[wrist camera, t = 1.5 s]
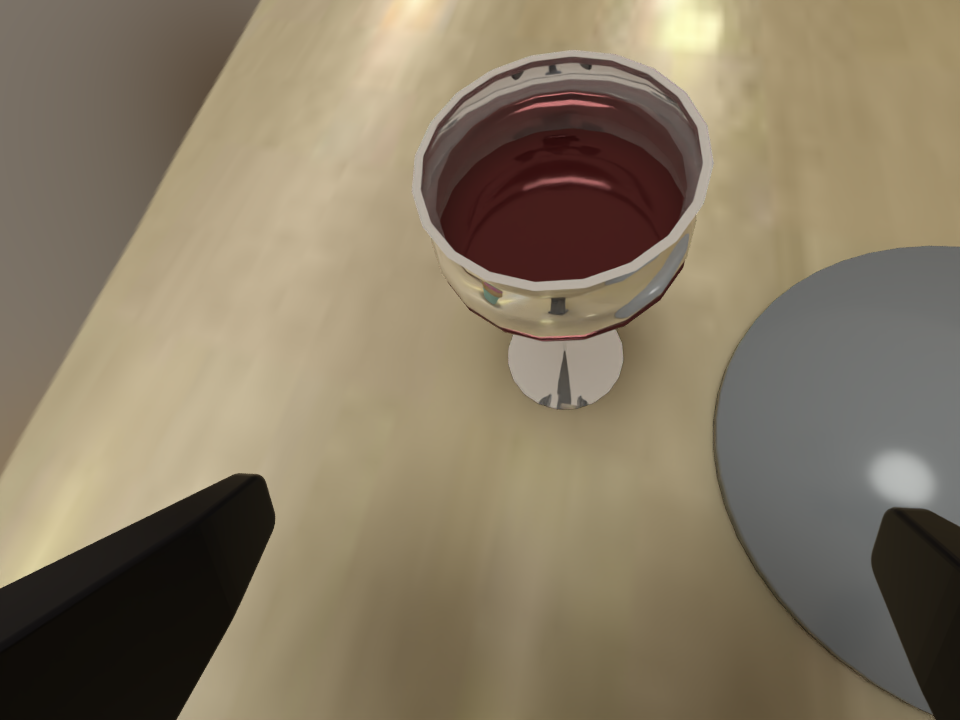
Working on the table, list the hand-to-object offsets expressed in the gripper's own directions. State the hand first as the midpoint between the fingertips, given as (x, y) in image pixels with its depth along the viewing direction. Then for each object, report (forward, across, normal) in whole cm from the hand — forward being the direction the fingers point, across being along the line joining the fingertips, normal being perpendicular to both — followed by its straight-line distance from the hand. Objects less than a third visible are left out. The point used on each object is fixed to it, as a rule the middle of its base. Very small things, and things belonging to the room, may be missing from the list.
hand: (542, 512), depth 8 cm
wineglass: (+15, 0, +4) cm, 16 cm away
